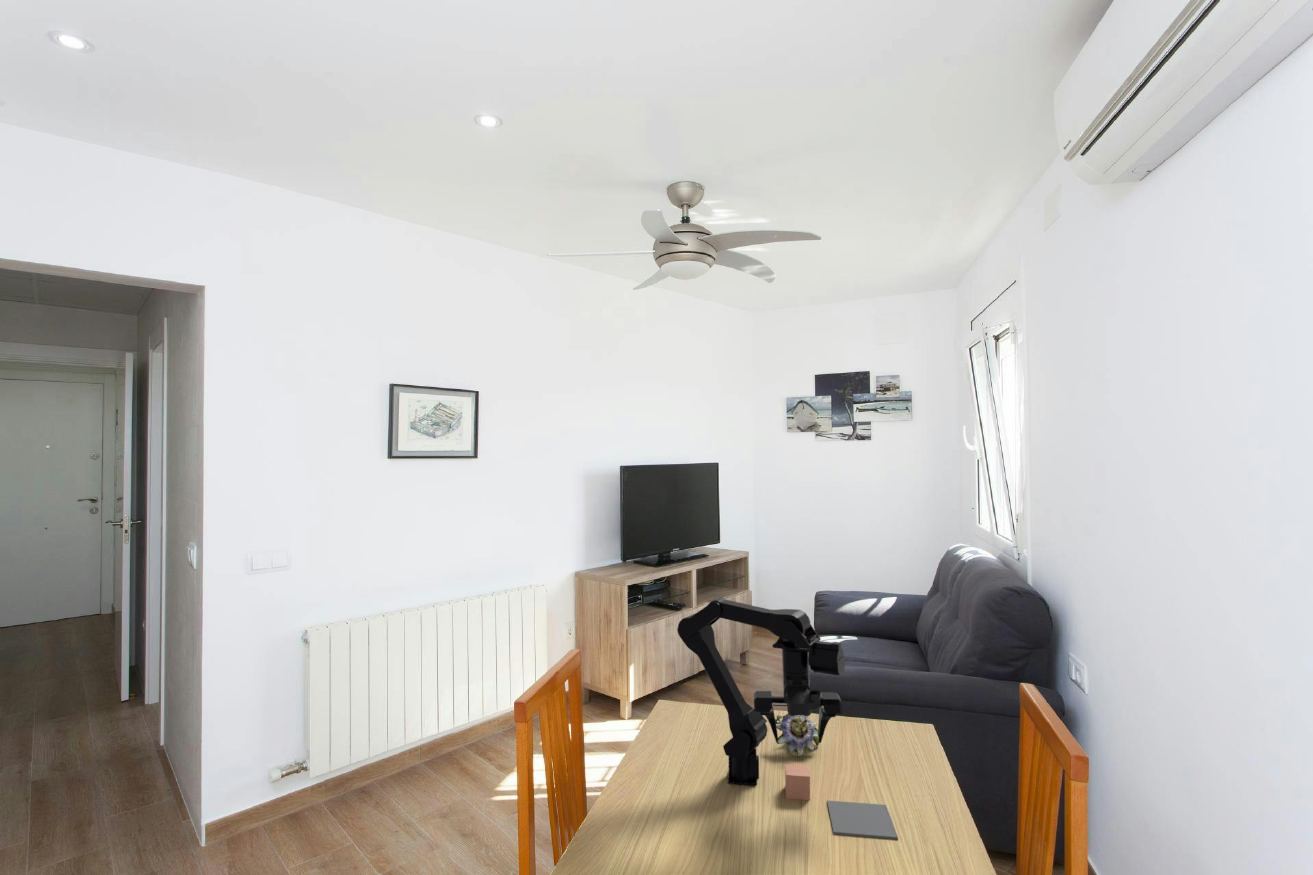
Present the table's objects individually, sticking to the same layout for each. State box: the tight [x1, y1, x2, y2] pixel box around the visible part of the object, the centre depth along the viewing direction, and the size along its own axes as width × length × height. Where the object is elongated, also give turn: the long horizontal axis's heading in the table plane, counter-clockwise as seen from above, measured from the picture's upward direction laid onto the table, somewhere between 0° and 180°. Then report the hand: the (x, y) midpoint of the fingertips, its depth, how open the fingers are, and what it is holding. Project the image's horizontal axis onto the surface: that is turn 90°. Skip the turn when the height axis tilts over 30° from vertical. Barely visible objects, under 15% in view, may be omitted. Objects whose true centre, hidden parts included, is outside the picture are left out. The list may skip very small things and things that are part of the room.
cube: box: [784, 764, 811, 801], centre depth 144 cm, size 5×5×5 cm
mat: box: [826, 799, 899, 840], centre depth 133 cm, size 12×12×1 cm
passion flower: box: [775, 713, 820, 757], centre depth 166 cm, size 11×11×12 cm
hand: (798, 741), depth 144 cm, fingers open, 9 cm apart
